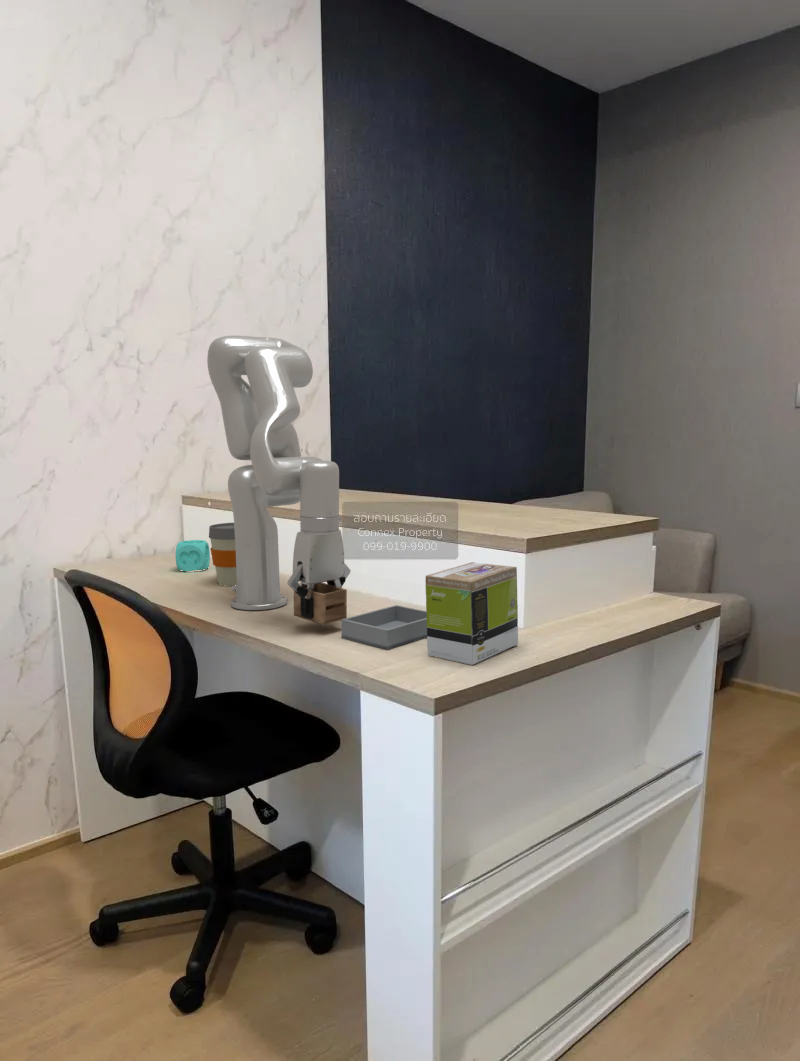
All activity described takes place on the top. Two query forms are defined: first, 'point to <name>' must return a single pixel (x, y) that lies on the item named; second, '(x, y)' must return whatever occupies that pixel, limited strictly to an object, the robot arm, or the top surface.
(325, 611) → the small crate
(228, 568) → the reusable coffee cup
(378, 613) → the grey tray
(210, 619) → the top surface
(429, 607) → the tea box
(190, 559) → the decorative dice
